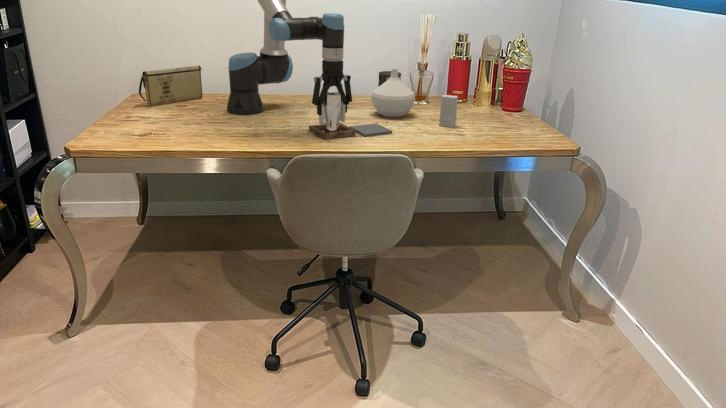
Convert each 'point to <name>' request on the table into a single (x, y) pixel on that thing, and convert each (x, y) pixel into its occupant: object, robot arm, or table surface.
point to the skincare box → (448, 111)
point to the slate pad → (370, 130)
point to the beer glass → (332, 111)
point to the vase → (393, 97)
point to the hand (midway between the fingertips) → (332, 122)
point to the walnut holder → (332, 135)
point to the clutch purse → (171, 85)
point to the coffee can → (385, 77)
